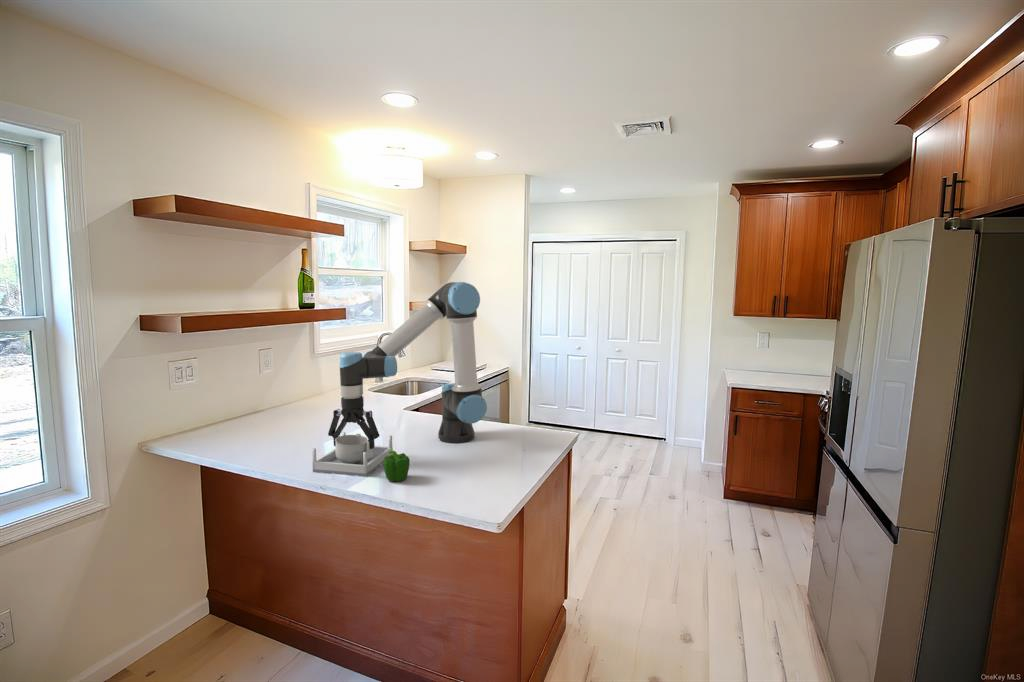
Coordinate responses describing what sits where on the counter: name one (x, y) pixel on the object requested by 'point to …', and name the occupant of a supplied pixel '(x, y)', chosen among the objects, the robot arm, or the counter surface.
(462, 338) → the robot arm
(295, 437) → the counter surface
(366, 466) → the dish rack
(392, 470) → the bell pepper
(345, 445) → the teacup
